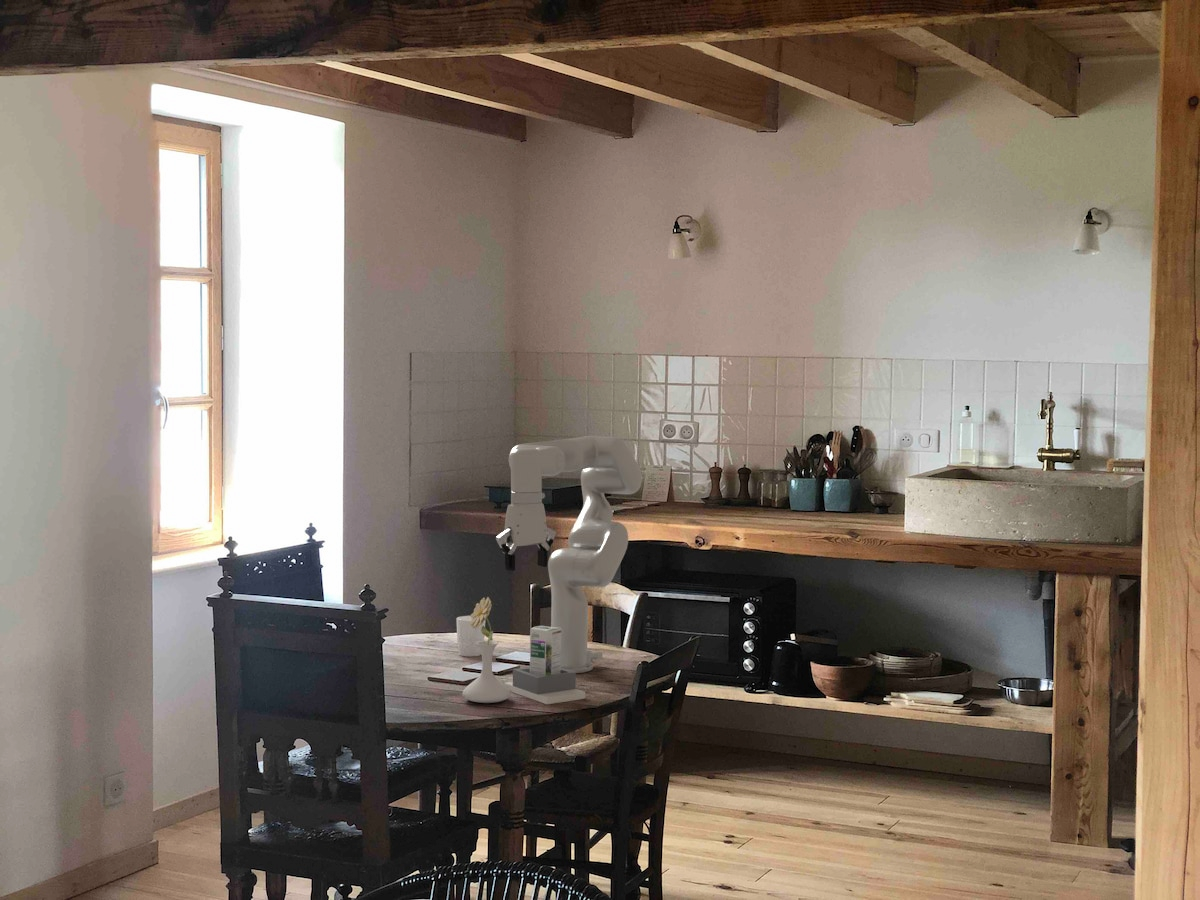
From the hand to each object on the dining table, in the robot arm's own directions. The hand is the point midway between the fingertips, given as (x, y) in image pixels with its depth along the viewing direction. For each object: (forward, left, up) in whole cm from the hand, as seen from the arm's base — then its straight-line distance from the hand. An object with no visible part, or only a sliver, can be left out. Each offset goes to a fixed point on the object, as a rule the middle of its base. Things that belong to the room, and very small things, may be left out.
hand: (526, 568), depth 336 cm
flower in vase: (+17, +9, -29) cm, 35 cm away
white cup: (-8, -41, -29) cm, 51 cm away
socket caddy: (+1, +9, -29) cm, 31 cm away
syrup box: (0, +9, -28) cm, 29 cm away
